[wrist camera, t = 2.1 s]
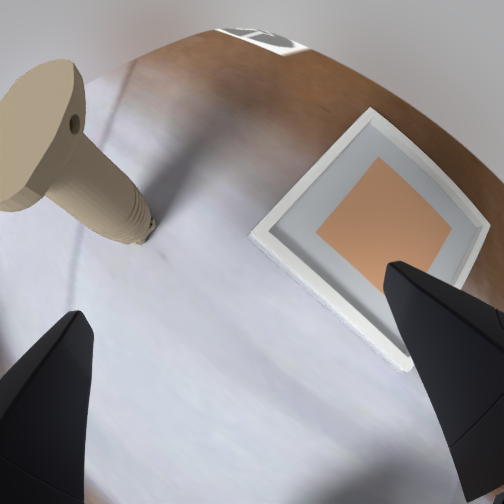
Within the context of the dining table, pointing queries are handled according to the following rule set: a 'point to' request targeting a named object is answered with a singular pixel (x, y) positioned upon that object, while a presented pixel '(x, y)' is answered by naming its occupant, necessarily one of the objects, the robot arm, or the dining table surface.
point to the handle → (64, 157)
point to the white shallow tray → (371, 229)
